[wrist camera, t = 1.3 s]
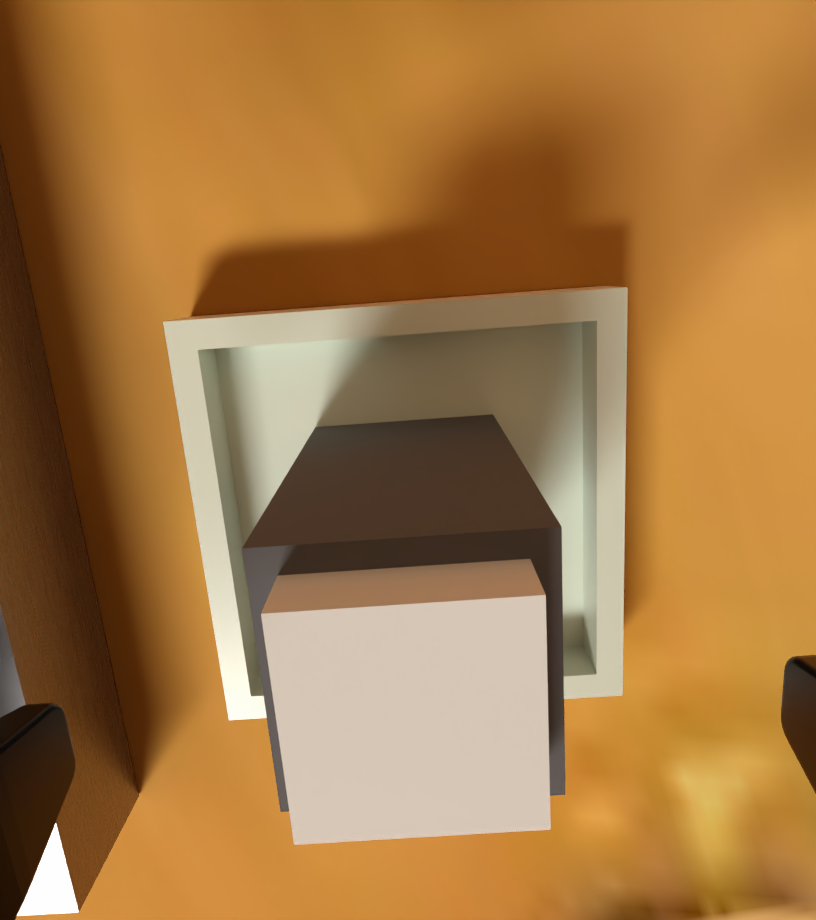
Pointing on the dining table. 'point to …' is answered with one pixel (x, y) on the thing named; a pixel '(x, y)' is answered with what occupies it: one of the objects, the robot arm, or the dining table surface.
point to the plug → (410, 634)
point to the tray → (413, 398)
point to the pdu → (52, 601)
